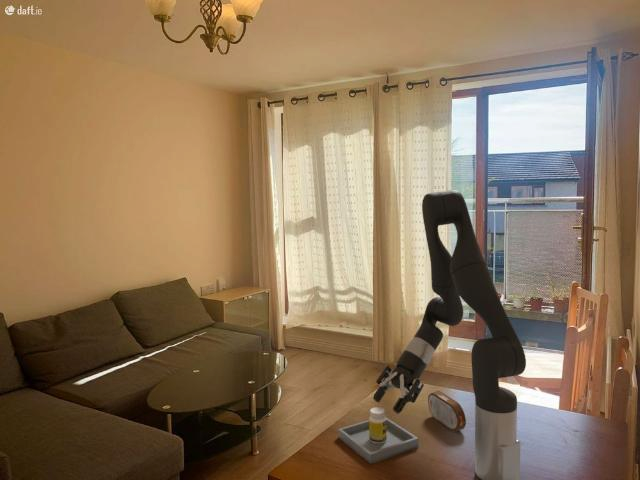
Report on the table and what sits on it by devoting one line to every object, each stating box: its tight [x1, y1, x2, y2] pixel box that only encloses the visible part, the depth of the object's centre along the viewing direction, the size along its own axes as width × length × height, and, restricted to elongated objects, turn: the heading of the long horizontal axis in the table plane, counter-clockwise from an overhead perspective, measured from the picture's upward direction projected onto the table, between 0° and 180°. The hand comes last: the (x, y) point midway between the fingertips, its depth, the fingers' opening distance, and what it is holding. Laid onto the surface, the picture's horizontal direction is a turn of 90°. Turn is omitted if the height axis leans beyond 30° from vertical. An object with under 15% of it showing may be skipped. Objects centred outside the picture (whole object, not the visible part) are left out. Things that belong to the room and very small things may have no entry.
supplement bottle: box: [368, 406, 387, 444], centre depth 129 cm, size 5×5×8 cm
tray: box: [337, 417, 420, 465], centre depth 129 cm, size 16×16×2 cm
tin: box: [427, 390, 467, 432], centre depth 138 cm, size 15×3×8 cm, turn 22°
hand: (385, 406), depth 130 cm, fingers open, 8 cm apart
